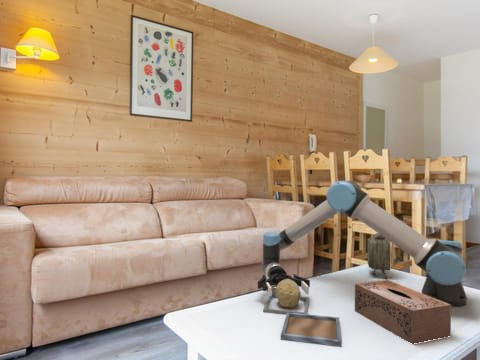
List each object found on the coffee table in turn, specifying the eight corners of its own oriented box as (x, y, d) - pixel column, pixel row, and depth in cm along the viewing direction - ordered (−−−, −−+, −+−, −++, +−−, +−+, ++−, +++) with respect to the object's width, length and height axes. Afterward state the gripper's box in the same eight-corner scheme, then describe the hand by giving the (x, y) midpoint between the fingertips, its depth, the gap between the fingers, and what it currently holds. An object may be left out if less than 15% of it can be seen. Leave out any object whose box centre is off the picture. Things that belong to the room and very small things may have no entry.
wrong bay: (309, 300, 133) (309, 297, 133) (306, 316, 118) (306, 313, 118) (270, 296, 137) (270, 294, 137) (263, 312, 122) (263, 309, 122)
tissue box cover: (354, 311, 123) (354, 283, 123) (387, 306, 128) (387, 279, 128) (412, 345, 99) (413, 310, 98) (450, 338, 103) (451, 304, 103)
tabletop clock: (390, 280, 159) (391, 225, 158) (369, 278, 161) (369, 225, 161) (386, 272, 172) (387, 221, 172) (367, 270, 175) (367, 221, 175)
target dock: (339, 321, 114) (339, 317, 114) (341, 346, 97) (341, 341, 97) (287, 316, 118) (287, 312, 118) (280, 339, 102) (280, 334, 101)
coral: (302, 282, 133) (301, 279, 124) (299, 310, 129) (298, 308, 120) (278, 278, 135) (275, 274, 126) (274, 305, 132) (271, 304, 123)
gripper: (304, 282, 147) (322, 300, 126) (246, 284, 144) (254, 302, 123) (305, 264, 147) (322, 279, 126) (246, 266, 144) (254, 281, 123)
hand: (289, 291), depth 124 cm, fingers open, 13 cm apart
